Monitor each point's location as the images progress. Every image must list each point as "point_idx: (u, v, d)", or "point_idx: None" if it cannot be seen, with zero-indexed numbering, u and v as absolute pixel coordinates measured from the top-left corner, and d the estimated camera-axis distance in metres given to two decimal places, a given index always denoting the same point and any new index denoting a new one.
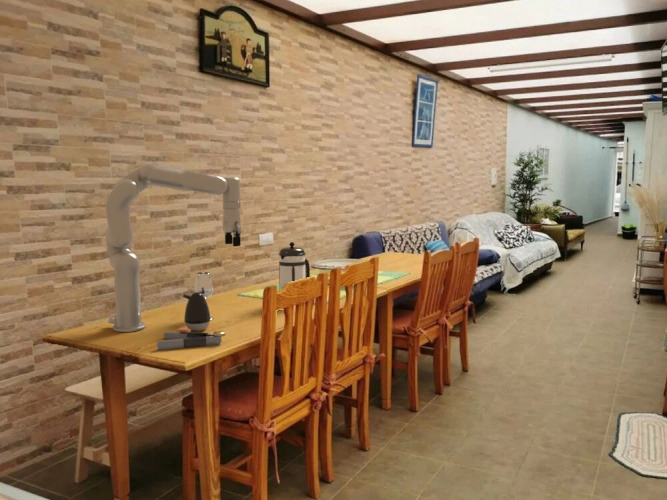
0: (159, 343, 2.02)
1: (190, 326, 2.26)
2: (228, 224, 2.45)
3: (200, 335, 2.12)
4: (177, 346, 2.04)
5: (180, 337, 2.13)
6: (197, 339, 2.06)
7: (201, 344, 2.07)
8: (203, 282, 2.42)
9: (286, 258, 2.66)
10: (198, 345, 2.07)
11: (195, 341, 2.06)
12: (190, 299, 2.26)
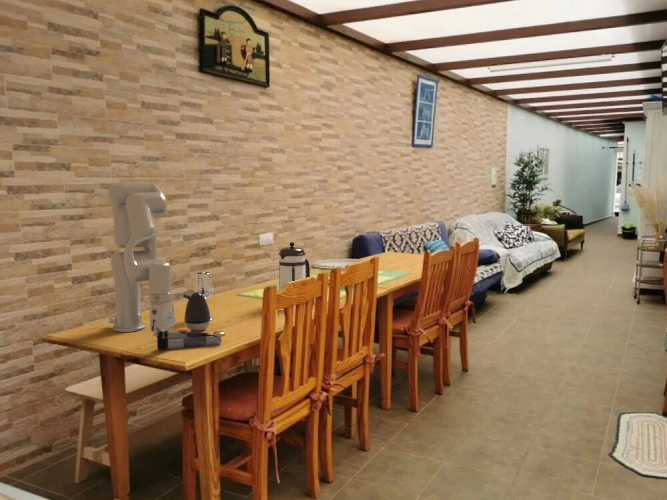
0: None
1: (190, 326, 2.26)
2: (172, 317, 2.02)
3: (200, 335, 2.12)
4: (177, 346, 2.04)
5: (180, 337, 2.13)
6: (197, 339, 2.06)
7: (201, 344, 2.07)
8: (203, 282, 2.42)
9: (286, 258, 2.66)
10: (198, 345, 2.07)
11: (195, 341, 2.06)
12: (190, 299, 2.26)
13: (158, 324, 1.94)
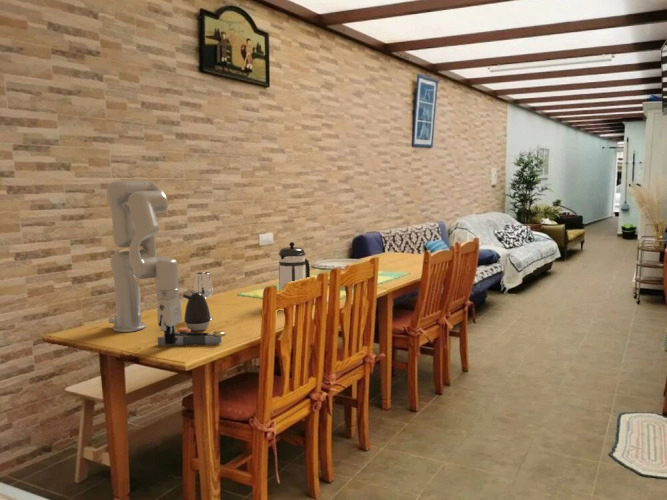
0: (159, 339, 2.08)
1: (190, 326, 2.26)
2: (179, 313, 2.07)
3: None
4: (177, 343, 2.08)
5: None
6: (196, 337, 2.08)
7: (200, 343, 2.09)
8: (203, 282, 2.42)
9: (286, 258, 2.66)
10: (197, 343, 2.09)
11: (194, 339, 2.08)
12: (190, 299, 2.26)
13: (165, 319, 2.00)
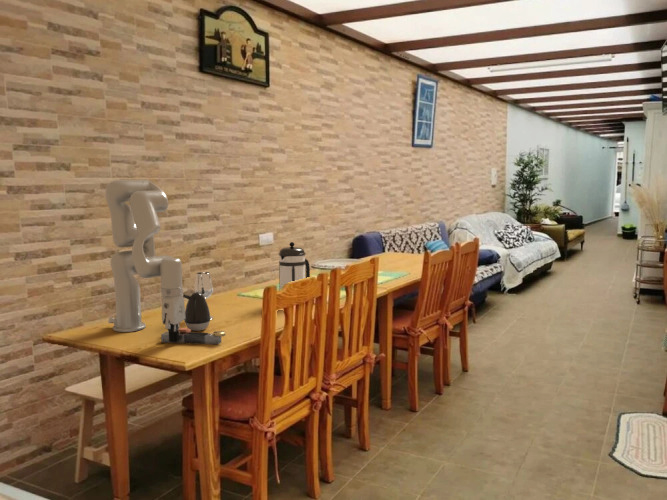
0: (163, 335, 2.12)
1: (190, 326, 2.26)
2: (183, 311, 2.10)
3: None
4: None
5: None
6: (197, 336, 2.10)
7: (200, 342, 2.10)
8: (203, 282, 2.42)
9: (286, 258, 2.66)
10: (197, 342, 2.10)
11: (195, 338, 2.10)
12: (190, 299, 2.26)
13: (169, 317, 2.03)
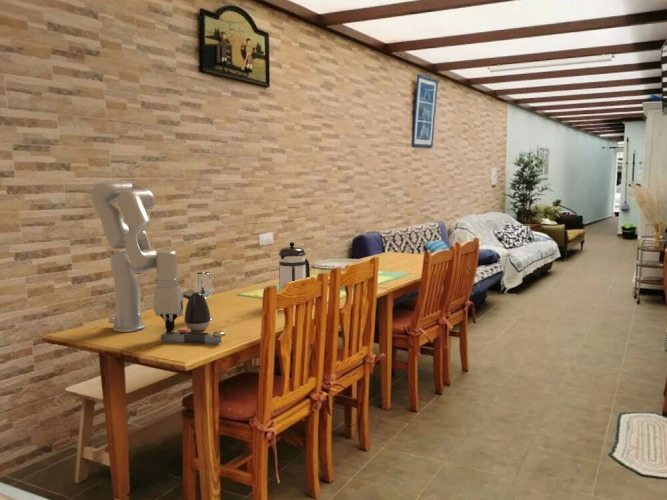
0: (163, 335, 2.12)
1: (190, 326, 2.26)
2: (172, 305, 2.13)
3: None
4: (178, 340, 2.11)
5: None
6: (197, 336, 2.10)
7: (200, 342, 2.10)
8: (203, 282, 2.42)
9: (286, 258, 2.66)
10: (197, 342, 2.10)
11: (195, 338, 2.10)
12: (190, 299, 2.26)
13: None
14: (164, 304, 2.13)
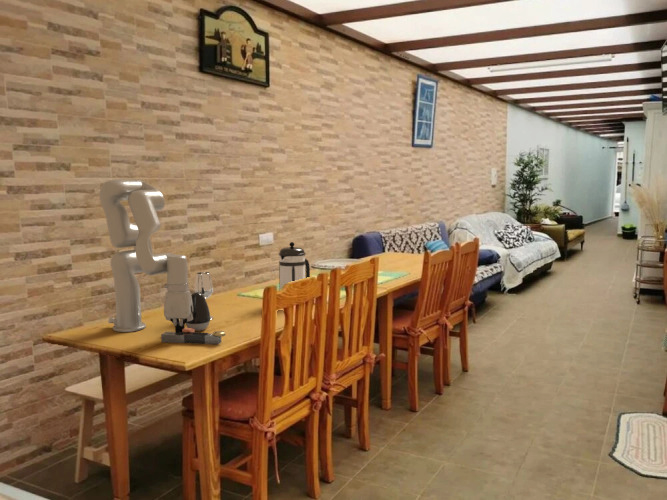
0: (163, 335, 2.12)
1: (190, 326, 2.26)
2: (182, 310, 2.12)
3: None
4: (178, 340, 2.11)
5: None
6: (197, 336, 2.10)
7: (200, 342, 2.10)
8: (203, 282, 2.42)
9: (286, 258, 2.66)
10: (197, 342, 2.10)
11: (195, 338, 2.10)
12: None
13: None
14: (174, 308, 2.13)
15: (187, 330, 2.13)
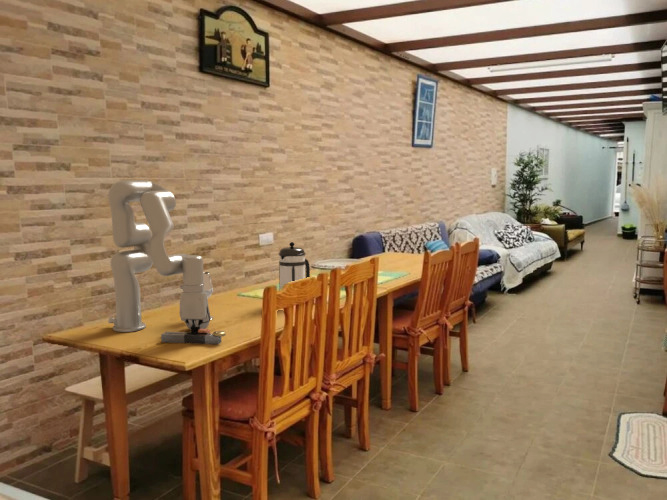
0: (163, 335, 2.12)
1: None
2: (198, 310, 2.11)
3: None
4: (178, 340, 2.11)
5: None
6: (197, 336, 2.10)
7: (200, 342, 2.10)
8: None
9: (286, 258, 2.66)
10: (197, 342, 2.10)
11: (195, 338, 2.10)
12: None
13: None
14: (190, 309, 2.12)
15: (203, 331, 2.12)
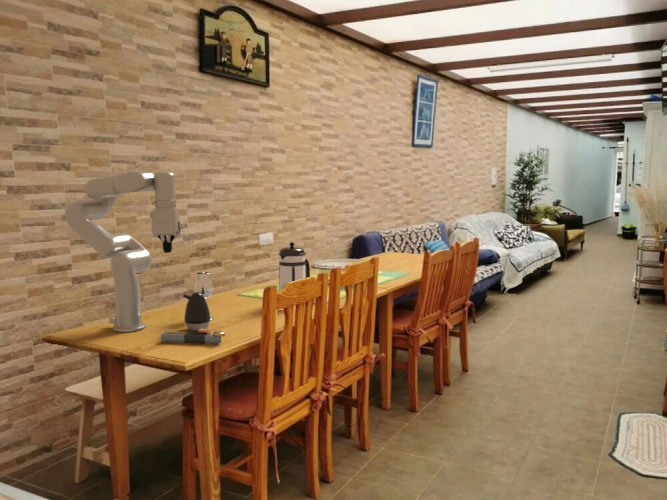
0: (163, 335, 2.12)
1: (190, 326, 2.26)
2: (170, 225, 2.16)
3: None
4: (178, 340, 2.11)
5: None
6: (197, 336, 2.10)
7: (200, 342, 2.10)
8: (203, 282, 2.42)
9: (286, 258, 2.66)
10: (197, 342, 2.10)
11: (195, 338, 2.10)
12: (190, 299, 2.26)
13: None
14: (162, 224, 2.16)
15: (203, 331, 2.12)
